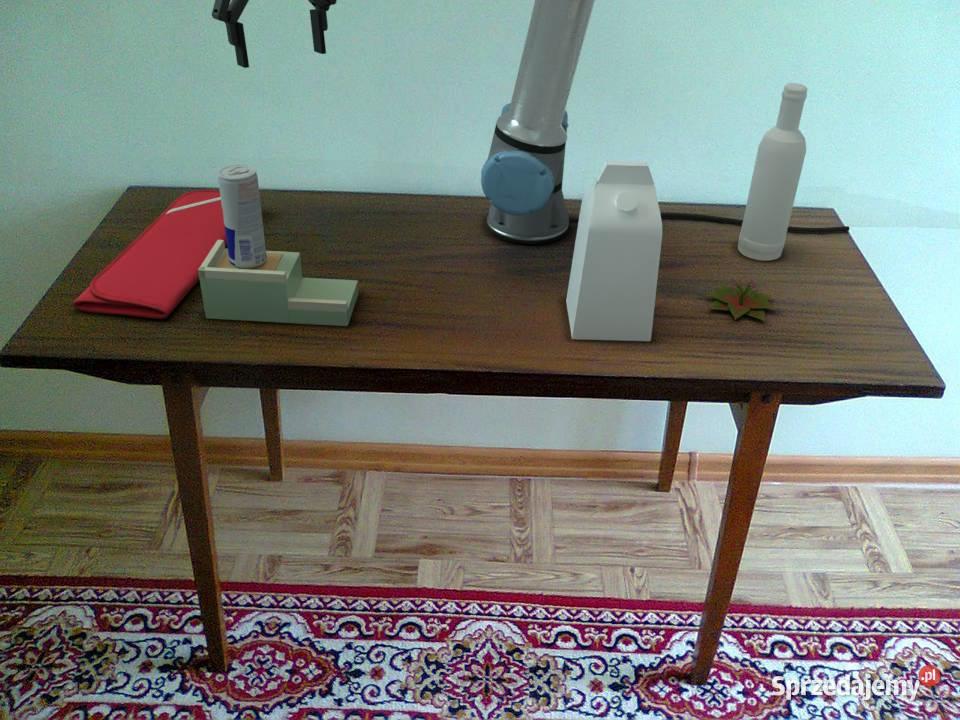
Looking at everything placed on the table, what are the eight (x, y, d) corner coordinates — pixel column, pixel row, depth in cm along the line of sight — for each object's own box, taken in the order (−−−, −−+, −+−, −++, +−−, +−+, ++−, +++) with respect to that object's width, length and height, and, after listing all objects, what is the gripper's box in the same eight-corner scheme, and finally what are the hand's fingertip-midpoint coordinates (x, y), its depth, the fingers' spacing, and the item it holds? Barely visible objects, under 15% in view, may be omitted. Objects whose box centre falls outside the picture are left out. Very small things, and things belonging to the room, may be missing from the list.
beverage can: (271, 255, 143) (261, 164, 135) (260, 271, 139) (250, 179, 130) (236, 252, 144) (224, 161, 135) (224, 269, 139) (211, 176, 131)
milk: (639, 302, 149) (662, 149, 134) (650, 341, 139) (676, 181, 125) (566, 300, 148) (580, 147, 134) (572, 339, 139) (588, 178, 124)
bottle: (736, 258, 163) (771, 90, 146) (736, 238, 169) (770, 76, 152) (782, 264, 161) (823, 95, 145) (781, 244, 168) (820, 81, 151)
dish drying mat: (72, 311, 141) (67, 290, 139) (183, 203, 175) (180, 185, 173) (169, 322, 139) (165, 301, 137) (262, 210, 173) (260, 192, 171)
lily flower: (782, 296, 152) (788, 272, 149) (772, 331, 143) (779, 306, 140) (709, 281, 155) (714, 257, 153) (696, 314, 146) (700, 289, 144)
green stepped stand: (358, 293, 148) (356, 246, 144) (347, 326, 140) (344, 277, 135) (224, 286, 149) (217, 239, 144) (205, 318, 141) (197, 269, 136)
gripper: (325, -96, 145) (338, 43, 156) (173, -83, 132) (199, 67, 143) (349, -93, 139) (361, 50, 150) (193, -79, 127) (219, 76, 138)
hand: (282, 59), depth 147 cm, fingers open, 13 cm apart
